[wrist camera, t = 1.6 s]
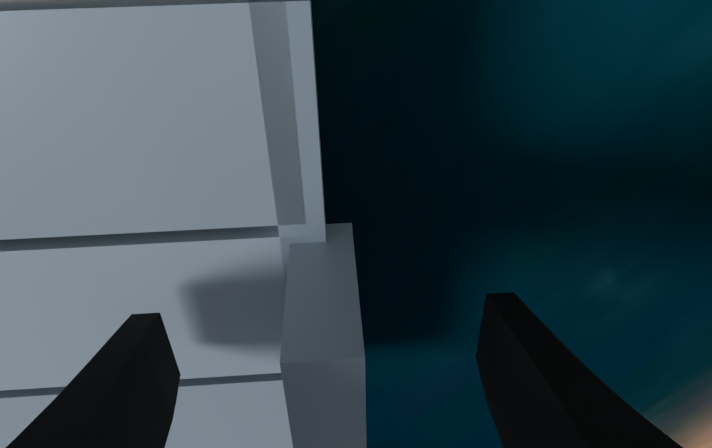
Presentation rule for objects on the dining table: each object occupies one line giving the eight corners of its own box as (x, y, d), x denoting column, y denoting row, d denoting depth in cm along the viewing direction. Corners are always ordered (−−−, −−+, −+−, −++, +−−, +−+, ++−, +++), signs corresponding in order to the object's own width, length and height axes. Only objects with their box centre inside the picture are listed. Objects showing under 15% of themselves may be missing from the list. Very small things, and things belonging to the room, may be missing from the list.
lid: (358, 445, 16) (368, 585, 13) (37, 467, 16) (-36, 618, 13) (344, -9, 9) (360, 55, 5) (-275, 12, 8) (-663, 93, 5)
